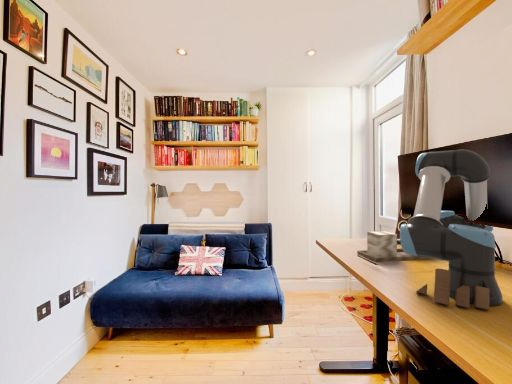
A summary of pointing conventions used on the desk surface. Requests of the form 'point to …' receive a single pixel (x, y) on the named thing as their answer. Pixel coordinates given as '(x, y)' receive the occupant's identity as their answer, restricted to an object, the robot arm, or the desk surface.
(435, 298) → the wooden block set
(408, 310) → the desk surface
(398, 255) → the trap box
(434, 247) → the robot arm
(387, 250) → the birch block
